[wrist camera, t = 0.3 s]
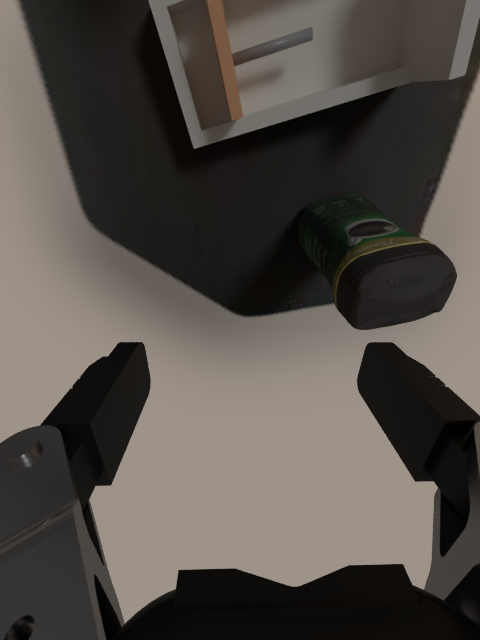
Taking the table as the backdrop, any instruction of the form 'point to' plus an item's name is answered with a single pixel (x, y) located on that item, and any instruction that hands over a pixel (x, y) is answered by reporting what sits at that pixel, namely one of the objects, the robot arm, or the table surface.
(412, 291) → the coffee jar
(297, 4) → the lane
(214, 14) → the pusher
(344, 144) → the table surface
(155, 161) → the table surface
